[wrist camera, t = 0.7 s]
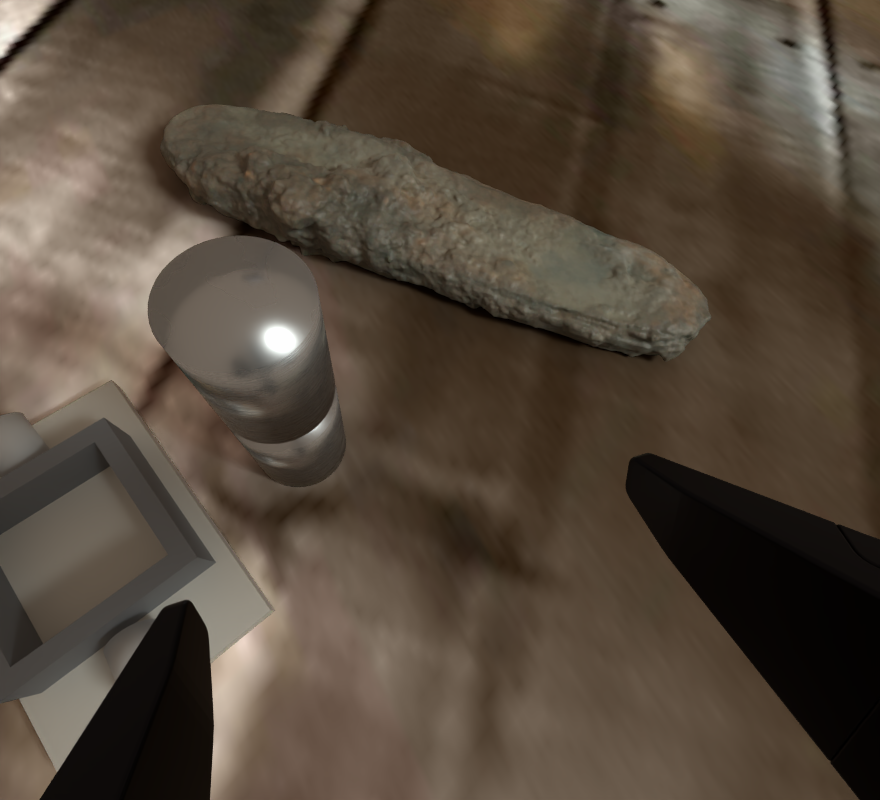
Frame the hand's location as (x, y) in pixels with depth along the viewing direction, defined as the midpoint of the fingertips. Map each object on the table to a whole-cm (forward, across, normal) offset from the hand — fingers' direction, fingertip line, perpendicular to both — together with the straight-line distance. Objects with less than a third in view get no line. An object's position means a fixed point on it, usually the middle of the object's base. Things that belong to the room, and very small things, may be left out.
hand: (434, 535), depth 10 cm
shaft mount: (+13, +13, +9) cm, 20 cm away
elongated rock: (+24, -8, +2) cm, 26 cm away
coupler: (+15, +3, +8) cm, 17 cm away
